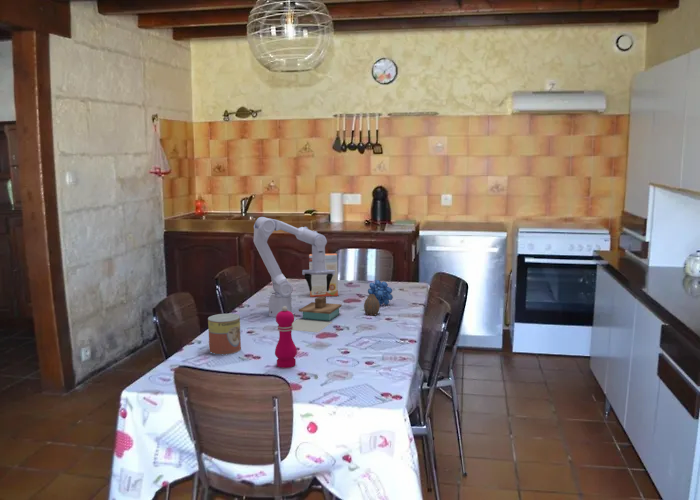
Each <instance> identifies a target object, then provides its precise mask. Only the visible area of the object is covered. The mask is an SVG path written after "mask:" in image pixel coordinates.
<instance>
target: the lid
mask: <svg viewBox="0 0 700 500" xmlns="http://www.w3.org/2000/svg"><path fill="white" fill-rule="evenodd" d="M342 306H343V305H342V304H341V303H339V304H338V303H330V302H329V303H327V296H319V297H316V298H314V301H312V302H310V303H308V304H306V305H305V306H303V307H301V308H299V309H298V312H299V313H300V312H301V313H303V312H312V313H324V314H331V313H332V312H334V311H335V310H337V309H338V308H339V309H340V308H341V307H342Z"/></svg>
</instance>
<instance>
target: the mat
mask: <svg viewBox="0 0 700 500" xmlns="http://www.w3.org/2000/svg"><path fill="white" fill-rule="evenodd" d="M331 324H333V321H321V320H310V319H303V318H302V319H301V318H297V319H296V320H295V319H294V322H293V323H292V325H293V330H292V331H300V332H308V333H319V332H321V331H322V330H323V329H325V328H327V327H329V325H331Z"/></svg>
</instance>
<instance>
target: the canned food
mask: <svg viewBox="0 0 700 500" xmlns="http://www.w3.org/2000/svg"><path fill="white" fill-rule="evenodd" d="M240 319H241V316H240V315H239V314H237V313H218V314H214V315H210V316H208V318H207V324H208V328H207V329H208V344H209V347H208V348H209V349H208V351H209V350H210V352H212V353H215V354H214V355H216V354H220V355H219V356H222V354H223V356H225V355H226V354H227V355H233V354H236V353H238V352H241V350H242V345H241V343H242V341H241V320H240ZM210 352H209V353H210ZM212 353H211V354H212ZM227 355H226V356H227Z"/></svg>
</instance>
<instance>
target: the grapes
mask: <svg viewBox="0 0 700 500" xmlns="http://www.w3.org/2000/svg"><path fill="white" fill-rule="evenodd" d="M367 293H368V294H374V295H375V297H376V298H377V300H378V301H379V304H380V306H382V305H383V304H384V305H385V306H387V305H389V303H390V301H392V300H393V299H394V297H393V294H392V293H393V288H392V287H390V286H388V283H387V282H386V281H380V280H379V279H376V280H374V282H370V283H369V288H368V290H367Z"/></svg>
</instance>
